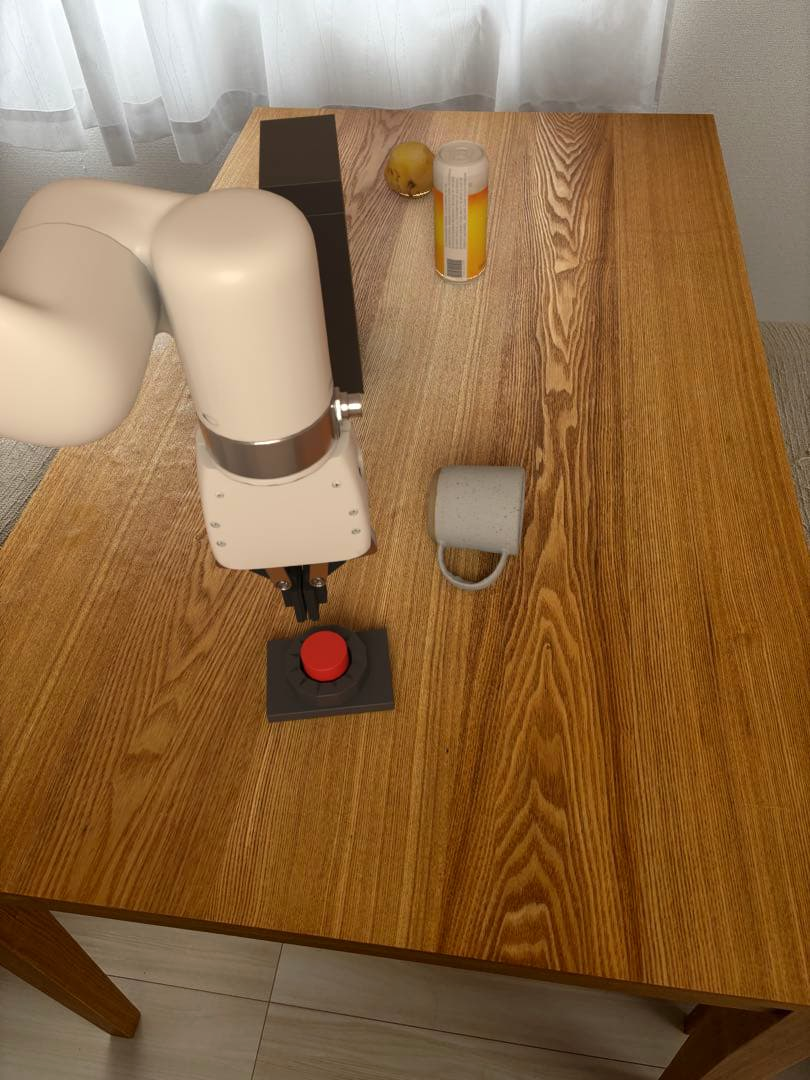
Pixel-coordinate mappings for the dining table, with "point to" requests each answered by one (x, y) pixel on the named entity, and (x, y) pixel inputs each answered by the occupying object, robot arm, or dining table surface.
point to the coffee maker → (318, 224)
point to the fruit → (410, 169)
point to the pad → (347, 694)
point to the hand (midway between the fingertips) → (308, 605)
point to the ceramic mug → (476, 513)
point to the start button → (324, 656)
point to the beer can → (460, 210)
